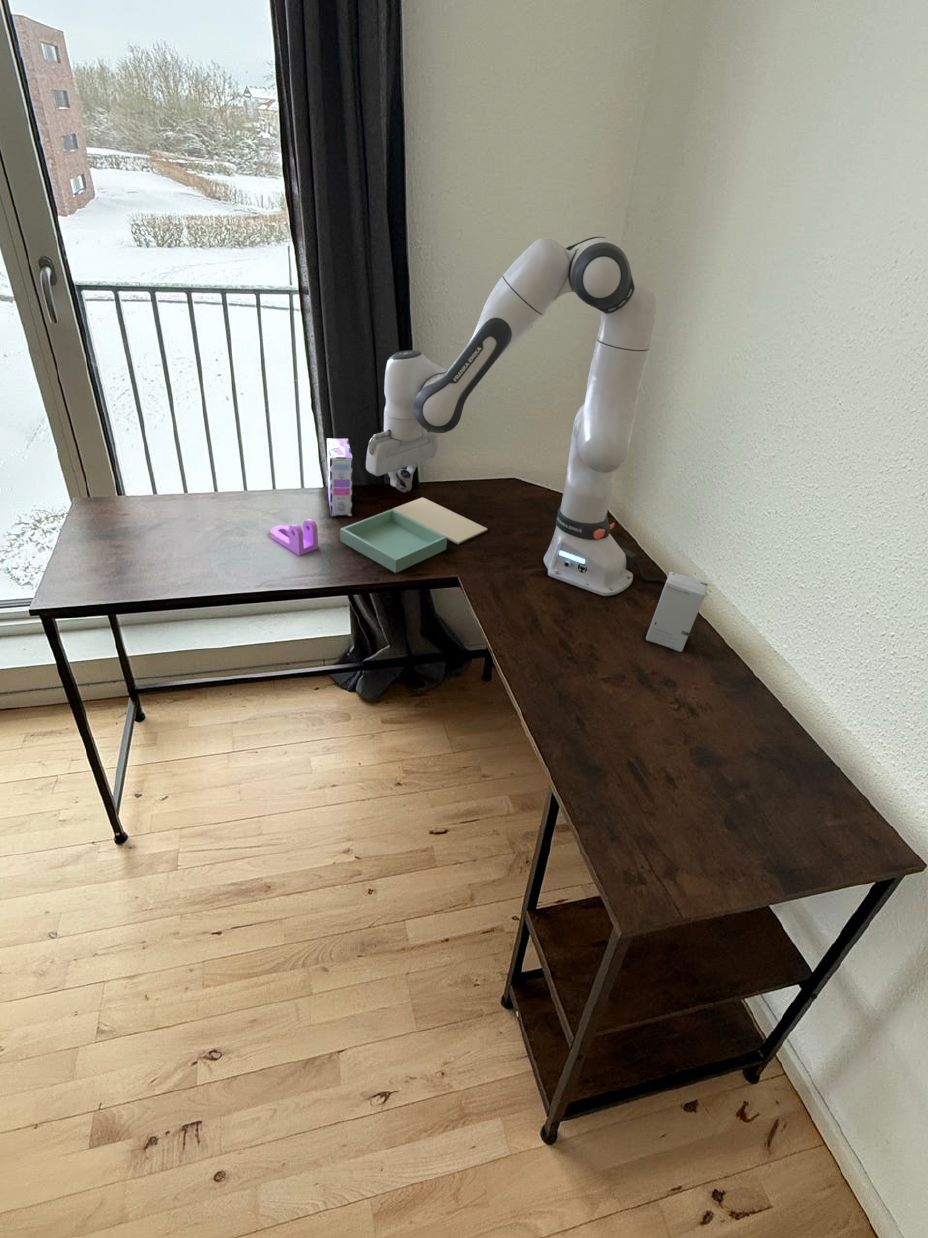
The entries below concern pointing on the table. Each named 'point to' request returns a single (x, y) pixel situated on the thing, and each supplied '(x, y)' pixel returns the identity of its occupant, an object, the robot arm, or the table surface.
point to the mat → (441, 520)
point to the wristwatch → (406, 478)
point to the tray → (393, 540)
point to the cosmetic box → (676, 611)
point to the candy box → (339, 477)
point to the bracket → (297, 536)
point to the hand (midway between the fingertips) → (401, 482)
